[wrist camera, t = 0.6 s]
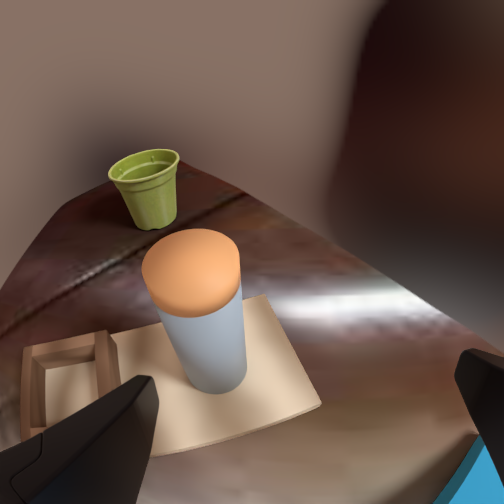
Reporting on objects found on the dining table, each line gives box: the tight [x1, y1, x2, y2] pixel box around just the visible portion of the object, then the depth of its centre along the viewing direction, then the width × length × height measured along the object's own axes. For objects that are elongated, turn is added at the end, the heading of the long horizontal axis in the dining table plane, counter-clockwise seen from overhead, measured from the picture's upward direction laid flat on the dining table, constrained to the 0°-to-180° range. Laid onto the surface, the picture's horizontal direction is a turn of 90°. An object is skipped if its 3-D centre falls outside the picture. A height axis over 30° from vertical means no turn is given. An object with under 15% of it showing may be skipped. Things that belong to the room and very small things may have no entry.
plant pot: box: [108, 149, 179, 230], centre depth 37 cm, size 9×9×9 cm
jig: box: [20, 294, 322, 458], centre depth 21 cm, size 26×12×4 cm, turn 110°
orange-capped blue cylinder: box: [142, 229, 247, 394], centre depth 19 cm, size 5×5×12 cm
